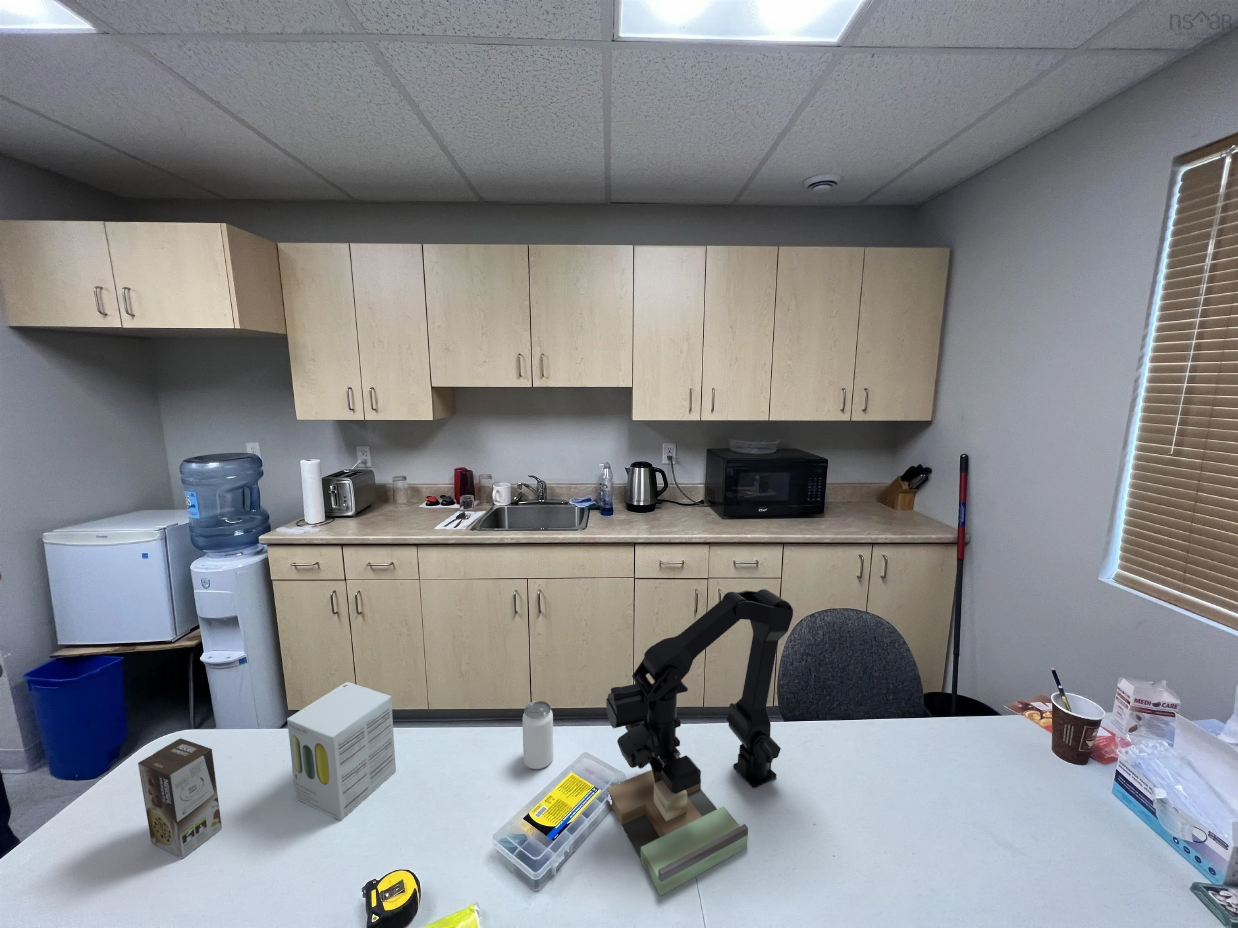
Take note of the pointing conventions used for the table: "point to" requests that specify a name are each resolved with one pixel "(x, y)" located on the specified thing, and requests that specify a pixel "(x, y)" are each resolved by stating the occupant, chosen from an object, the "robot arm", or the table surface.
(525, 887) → the table surface
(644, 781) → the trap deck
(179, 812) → the coffee box
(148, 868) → the table surface
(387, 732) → the supplement box
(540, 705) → the can
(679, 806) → the maple block
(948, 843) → the table surface
